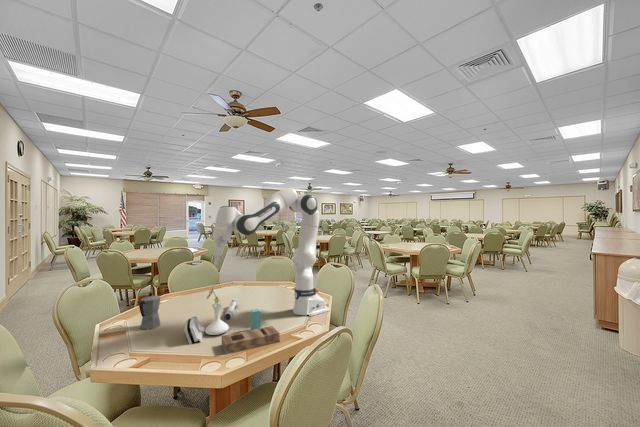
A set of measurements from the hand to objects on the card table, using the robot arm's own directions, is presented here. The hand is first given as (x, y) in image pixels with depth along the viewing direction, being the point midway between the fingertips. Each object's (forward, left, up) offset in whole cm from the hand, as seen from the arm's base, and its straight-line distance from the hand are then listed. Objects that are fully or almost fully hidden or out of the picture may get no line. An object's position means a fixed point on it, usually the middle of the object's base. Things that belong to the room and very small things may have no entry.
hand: (216, 264), depth 139 cm
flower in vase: (0, 0, -35) cm, 35 cm away
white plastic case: (+10, -1, -35) cm, 36 cm away
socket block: (-12, +20, -35) cm, 42 cm away
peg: (-18, +6, -35) cm, 40 cm away
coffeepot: (+30, -26, -35) cm, 53 cm away
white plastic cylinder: (-13, -28, -35) cm, 47 cm away
